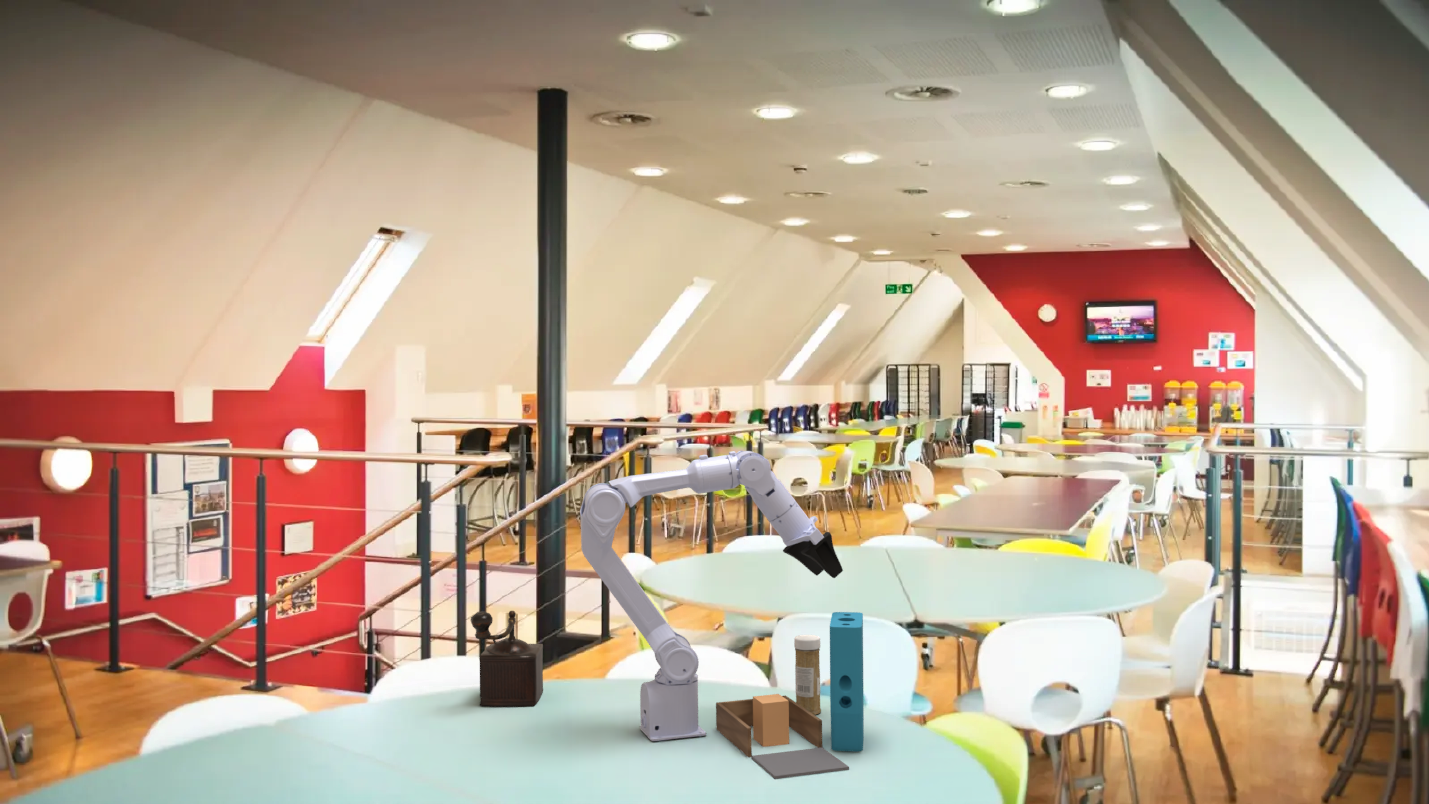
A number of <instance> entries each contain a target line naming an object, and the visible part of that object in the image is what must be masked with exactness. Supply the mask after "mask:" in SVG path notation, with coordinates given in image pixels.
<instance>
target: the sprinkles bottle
mask: <svg viewBox="0 0 1429 804" xmlns="http://www.w3.org/2000/svg"><path fill="white" fill-rule="evenodd" d="M793 639H794V642H793V643H794V651H795V665H794V667H795V668H794V669H795V670H794V673H795V674H794V675H795V679H794V680H795V700H796V701H795V702H796V703H797V704H799V705H800V706H802V707H803V708H805V709H806V710H808V711H809V712H811V713H812V714H814V715H815V716H817V715H819V714H820V713H821V712H822V708H821V671H820V670H821V668H820V651H821V637H820V636H818V635H814V634H800V635H796V636H795V637H794V638H793Z"/></svg>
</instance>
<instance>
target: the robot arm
mask: <svg viewBox="0 0 1429 804" xmlns="http://www.w3.org/2000/svg"><path fill="white" fill-rule="evenodd" d="M771 468H772V467H771V463H770V461H769V459H768V458H765V457H764V455H762V454H761V453H757V452H756V451H755V452H754V451H751V450H739V451H737V452H736V451H734V450H733V451H728V454H724V455H719V456H718V455H716V456H711V457H708V455H707V454H702V455H698V458H697V459H694V460H692V461H691V462H690V464H689V465H688V466H687V467H686V468H684V469H677V470H675V469H674V470H669V471H667V470H666V471H659V472H651V473H644V474H643V473H642V474H636V475H635V474H634V475H633V474H632V475H628V476H623V477H619V478H615V479H612V480H609V481H608V483H603V482H600V483H597V484H593V485H592V486H591V487H589V488H588V489H587V491H586V492H585V494H584V496H583V499H582V502H581V506H580V509H579V515H580V544H581V547H580V549H581V552H582V554H583V556H584V558H585V560H586V561H587V562H588V564H589V565H590V566H591V567H592V569H593V570H594V571H595V573H596V574H597V575H598V577H599V579H601V581H602V582H603V584H604V586H606V587H607V589H608V591H610V593H611V594H612V596H613V597H614V598H615V600H616V602H618V604H619V605H620V607H621V608H622V610H623V611H624V612H625V613H626V614H627V616H628V617H629V618H630V620H631V621H632V623H633V624H634V626H635V627H636V628H637V630H638V631H639V632H640V633H641V635H642V637H644V639H645V640H646V643H648V645H649V647H650V648H651V650H652V651H653V652H654V658H655V660H656V662H657V664H658V665H659V666H660V668H658V670H657V671H656V674H655V675H654V679H652V680H649V681H645V682H643V683H641V686H640V691H639V692H640V694H639V695H640V700H639V701H640V704H639V705H640V726H639V729H640V730H641V731H642V732H643V734H644V735H646V737H647V738H648V739H649V740H650V741H651V742H658V741H659V742H660V741H667V740H674V739H675V740H676V739H683V738H684V739H686V738H695V737H702V736H703V737H704V736H706V735H707V731H705V730H704V729H703V728H702V727H701V726H700V725H699V675H698V674H697V672H698V669H699V656H698V655H697V653H696V651H695V650H694V649H693V648H692V647H691V644H690V642H689V640H688V639H687V638H686V637H685V636H683V635H682V634H680V633H677V632H676V631H675V630H674V629H673V628H672V627H671V625H670V624H669V623H668V622H667V620H666V619H665V618H664V616H663V615H662V614H661V612H660V611H659V610H658V608H657V607H656V605H655V604H654V603H653V601H652V600H651V599H650V597H649V596H648V595H647V593H646V592H645V590H644V589H643V588H642V586H641V585H640V584H639V582H638V580H636V579H635V577H634V575H632V573H631V572H630V570H629V569H628V568H627V566H626V565H625V563H624V562H623V561H622V559H621V558H620V556H619V555H618V554H617V553H616V550H614V548H613V542H614V538H615V533H616V529H617V527H618V526H619V524H620V522H621V521H622V519H623V517H624V515H625V511H626V504H627V506H629V508H633V507H634V505H636V504H637V503H638V502H639V501H640V500H641V499H642V498H643V497H646V496H652V495H656V494H662V493H667V492H673V491H679V490H683V489H688V488H689V489H691V490H692V491H694V492H695V493H696V494H698V495H700V494H705V493H713V492H719V491H725V490H731V489H732V490H733V489H735V488H737V487H738V486H740V485H741V486H744V488H745V490H746V491H747V492H748V495H750V497H751V498H752V501H753V502H754V504H755V505H756V506H757V508H758V509H759V510H760V512H761V513H762V514H763V515H764V517H765V518H766V520H767V521H768V522H769V524H770V525H771V526H772V527H773V529H774V530H775V531H776V533H777V534H778V535H779V537H780V538H781V539H782V543H784V545H785V547H784V548H783V549H782V552H783V553H784V554H787V555H789V556H790V557H792V558H793V559H795V560H797V562H799V563H801V564H802V565H803V566H804V567H805V568H807V570H809V572H811V573H812V574H814V575H815V576H819V575H820V574H821V573H822V572H825V573H827V575H829V576H830V577H831V578H833V579H835V578H836V577H837V578H838V576H839V575H840V574H841V573H842V572H843V571H844V570H843V569H844V568H843V566H842V565H841V562H840V560H839V558H838V556H837V554H836V553H837V552H836V551H835V548H834V544H833V538H832V537H833V536H832V534H831V532H829V531H825V532H824V533H823V534H822V532H821V531H820V530H819V528H817V527H816V524H815V523H816V522H818V520H819V519H818V516H817V515H816V516H817V517H816V516H815V515H814V516H810V518H809V517H808V516H807V514H806V512H804V510H803V509H802V507H801V506H800V504H798V502H797V500H795V498H794V497H793V495H792V494H791V492H789V489H787V488H786V486H785V485H784V484H783V483H782V481H781V479H778V478H777V476H776V474H775V473H774V471H772V469H771Z"/></svg>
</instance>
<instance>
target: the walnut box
mask: <svg viewBox="0 0 1429 804" xmlns="http://www.w3.org/2000/svg"><path fill="white" fill-rule="evenodd" d="M781 696H782V697H784V698H785V699H787V700H788V701H789V729H791V730H793V731H794V732H795V733H797V734H798V735H800V736H801V737H802V738H804V739H805V740H807V741H808V742H809V743H810V744H812V745H813V746H815V748H821V747H823V720H822V719H821V718H820V717H819V716H817V715H814V714H812V713H811V712H809V711H808V710H806V709H805V708H803V707H802V706H800V705H799V704H797V703H796V701H794V700H793V699H791V698H790V697H788V695H785V694H784V695H781ZM715 716H716V717H715V722H716V723H715V726H716V728H715V730H717V731H718V732H719V733H720V734H721V735H722V736H723V737H724V738H726V739H727V741H728V742H730V743H731V744H732V745H733V746H735V747H736V748H737V749H738V750H739V751H741V753H743V755H745V756H746V757H747V758H751V756H753V754H752V752H753V751H752V727H753V698H748V699H739V700H738V699H737V700H727V701H719V702H716V703H715Z"/></svg>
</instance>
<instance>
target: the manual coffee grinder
mask: <svg viewBox="0 0 1429 804" xmlns="http://www.w3.org/2000/svg"><path fill="white" fill-rule="evenodd" d="M508 617H509V618H508V619H507V623H508V625H507V627H506V630H505V631H504V632H502V633H500V634H494V635H493V634H492V633H491V632H490V629H489V628H490V626H491V625H492V624H493V621H494V620H493V616H492V615H491V613H489V612H486V611H483V610H482V611H478V612H476V613H475V614H473V615H472V616H471V617H470V624H471V625H472V627H473V629H475V634H474V636H475V639H476V640H491V641H492V642H493V643H490V644H489V645H487V646H486V647H485V649H484V651H483V652H481V653H480V655H479V657H478V659H479V698H480V699H479V701H480V702H479V706H480V707H487V708H488V707H489V708H529V707H531V708H532V707H533V708H534V707H535V706H537V705H538V703H539V701H540V699H541V698H542V696H543V694H544V681H543V680H544V676H543V675H544V673H543V671H544V668H543V666H544V665H543V664H544V660H543V657H544V655H543V649H544V645H543V643H528V642H526V641H524V640H522V639H519V638H516V635H515V624H516V623H517V621H516V619H517V618H516V612H515V611H514V610H509V612H508ZM508 635H509V636H508ZM507 636H508V637H507ZM496 640H497V641H496Z"/></svg>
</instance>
